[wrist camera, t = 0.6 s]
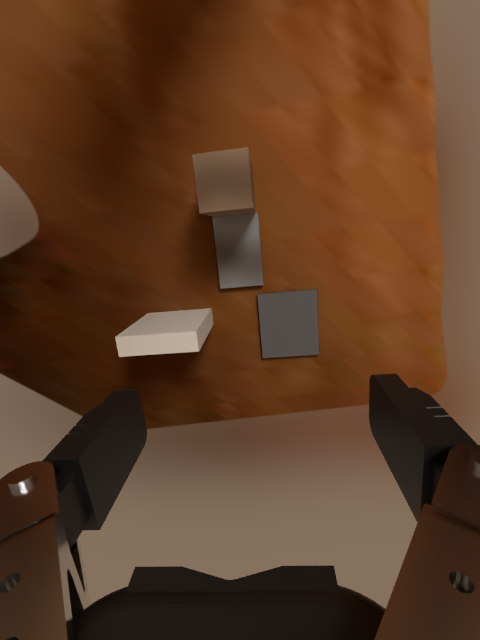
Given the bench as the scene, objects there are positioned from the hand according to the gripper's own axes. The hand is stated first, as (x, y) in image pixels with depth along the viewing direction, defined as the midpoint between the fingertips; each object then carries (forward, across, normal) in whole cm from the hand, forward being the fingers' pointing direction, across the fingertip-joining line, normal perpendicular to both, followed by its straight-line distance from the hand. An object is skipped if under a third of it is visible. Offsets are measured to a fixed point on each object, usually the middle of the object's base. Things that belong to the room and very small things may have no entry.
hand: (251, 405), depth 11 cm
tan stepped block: (+23, +2, -5) cm, 24 cm away
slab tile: (+23, +9, +3) cm, 25 cm away
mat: (+23, -3, +5) cm, 23 cm away
